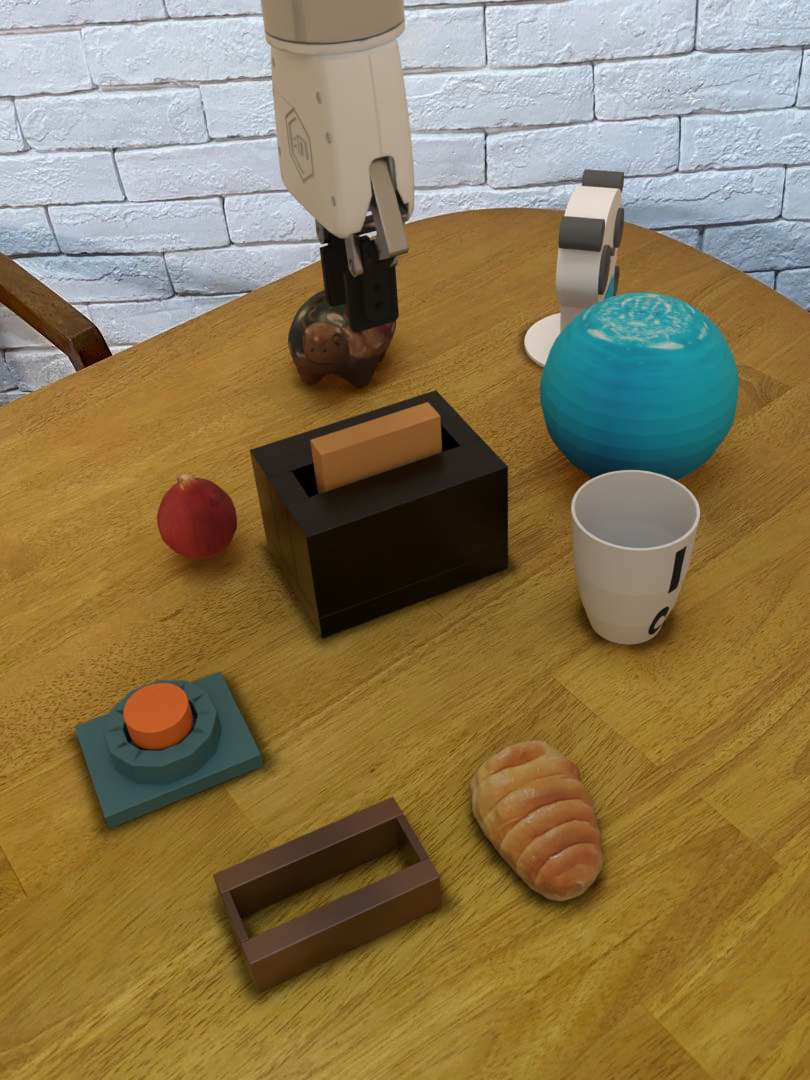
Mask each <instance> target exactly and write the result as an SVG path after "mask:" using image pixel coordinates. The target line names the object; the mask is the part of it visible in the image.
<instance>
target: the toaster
mask: <svg viewBox="0 0 810 1080" xmlns="http://www.w3.org/2000/svg"><path fill="white" fill-rule="evenodd" d="M426 402H428V403H429V404H430V405H431V406H432V407H433V408H434V409H435V411H436V412H437V413H438V414H439V415H440V419H441V440H442V453H439V454H436V455H433V456H430V457H427V458H424V459H421V460H418V461H415V462H412V463H409V464H406V465H403V466H400V467H397V468H394V469H391V470H388V471H385V472H383V473H380V474H377V475H374V476H371V477H368V478H365V479H362V480H359V481H356V482H353V483H350V484H347V485H344V486H341V487H338V488H335V489H332V490H329V491H327V492H324V493H321V494H318V491H317V484H316V477H315V470H314V463H313V456H312V449H311V442H310V440H312V439H315V438H318V437H321V436H324V435H327V434H330V433H334V432H337V431H340V430H343V429H346V428H349V427H352V426H355V425H358V424H361V423H365V422H368V421H371V420H374V419H377V418H380V417H383V416H386V415H389V414H392V413H395V412H399V411H402V410H405V409H408V408H411V407H414V406H417V405H420V404H423V403H426ZM249 454H250V459H251V465H252V471H253V476H254V481H255V487H256V493H257V497H258V502H259V507H260V513H261V518H262V524H263V530H264V534H265V535H264V536H265V540H266V546H267V549H268V551H269V553H270V555H271V556H272V558H273V560H274V562H275V563H276V564H277V566H278V568H279V570H280V571H281V573H282V574H283V576H284V578H285V580H286V581H287V583H288V585H289V586H290V588H291V589H292V591H293V593H294V594H295V597H296V598H297V599H298V602H299V603H300V604H301V606H302V608H303V609H304V611H305V613H306V614H307V616H308V618H309V620H310V621H311V623H312V624H313V626H314V628H315V630H316V631H317V633H318V635H319V637H320V638H321V639H322V640H323V639H325V638H328V637H332V636H334V635H336V634H340V633H341V632H344V631H346V630H349V629H352V628H354V627H357V626H360V625H363V624H366V623H368V622H371V621H372V620H375V619H376V620H377V619H378V618H381V617H383V616H386V615H389V614H392V613H394V612H397V611H399V610H402V609H405V608H407V607H410V606H412V605H415V604H418V603H420V602H423V601H426V600H429V599H431V598H433V597H434V598H435V597H436V596H439V595H441V594H444V593H447V592H449V591H452V590H454V589H457V588H460V587H463V586H465V585H467V584H470V583H473V582H476V581H479V580H480V579H483V578H486V577H488V576H491V575H494V574H496V573H499V572H501V571H502V572H503V571H505V570H507V569H509V466H508V465H507V464H506V463H505V462H504V461H503V459H502V458H500V456H499V455H498V454H497V453H496V452H495V451H494V450H493V449H492V448H491V447H490V446H489V444H487V442H486V441H485V440H484V439H483V438H482V437H481V436H480V435H479V434H478V433H477V432H476V431H475V430H474V429H473V427H471V425H469V423H468V422H467V421H466V420H465V419H464V418H463V417H462V416H461V415H460V414H459V412H458V411H456V409H455V408H454V407H453V406H452V405H451V404H450V403H449V402H448V401H447V400H446V399H445V398H444V397H443V395H441V393H440V392H438V390H436V389H435V390H432V391H429V392H426V393H422V394H419V395H416V396H414V397H411V398H407V399H403V400H400V401H397V402H394V403H392V404H391V403H390V404H388V405H386V406H382V407H379V408H375V409H372V410H369V411H367V412H363V413H359V414H357V415H354V416H351V417H348V418H344V419H342V420H339V421H336V422H333V423H329V424H326V425H323V426H320V427H317V428H314V429H310V430H308V431H305V432H304V431H303V432H301V433H298V434H294V435H292V436H288V437H285V438H282V439H279V440H276V441H273V442H269V443H267V444H264V445H261V446H257V447H254V448H250V449H249Z"/></svg>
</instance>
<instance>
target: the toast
mask: <svg viewBox="0 0 810 1080" xmlns="http://www.w3.org/2000/svg"><path fill="white" fill-rule="evenodd" d="M310 442H311V449H312V456H313V463H314V470H315V477H316V484H317V491H318V494H321V493H324V492H327V491H329V490H332V489H335V488H338V487H341V486H344V485H347V484H350V483H353V482H356V481H359V480H362V479H365V478H368V477H371V476H374V475H377V474H380V473H383V472H385V471H388V470H391V469H394V468H397V467H400V466H403V465H406V464H409V463H412V462H415V461H418V460H421V459H424V458H427V457H430V456H433V455H436V454H439V453H442V440H441V419H440V415H439V414H438V413H437V412H436V411H435V409H434V408H433V407H432V406H431V405H430V404H429V403H428V402H426V403H423V404H420V405H417V406H414V407H411V408H408V409H405V410H402V411H399V412H395V413H392V414H389V415H386V416H383V417H380V418H377V419H374V420H371V421H368V422H365V423H361V424H358V425H355V426H352V427H349V428H346V429H343V430H340V431H337V432H334V433H330V434H327V435H324V436H321V437H318V438H315V439H312V440H310Z"/></svg>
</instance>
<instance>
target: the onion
mask: <svg viewBox="0 0 810 1080" xmlns="http://www.w3.org/2000/svg"><path fill="white" fill-rule="evenodd" d="M176 481H177V482H176V483H175V484H173V485H172V486H171V487H170V488H169V489H168V490H167V491H166V492H165V494H164V495H162V497H161V501H160V504H159V507H158V509H157V514H156V523H157V524H156V525H157V528H158V532H159V535H160V537H161V540H162V542H163V543H164V544H165V545H167V547H168V548H169V549H171V551H173V553H176V554H177V555H180V556H182V557H184V558H188V559H195V560H198V561H207V560H211V559H212V558H215V557H218V556H219V555H220V554H221V553H222V552H224V551H225V550H226V549H227V548H228V547H229V546H230V544H231V543H232V540H233V539H234V536H235V534H236V531H237V529H238V516H237V510H236V506H235V505H234V502H233V499H232V498H231V496H230V495H229V494H228V493H227V492H226V491H225V490H224V489H223V488H221V487H220V486H219V485H218V484H217V483H216V482H213V481H211V480H209V479H205V478H201V477H194V476H191V475H190V474H188V473H187V474H186V473H184V474H181V475H178V476H176Z"/></svg>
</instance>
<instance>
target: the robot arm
mask: <svg viewBox="0 0 810 1080" xmlns="http://www.w3.org/2000/svg"><path fill="white" fill-rule="evenodd" d="M260 7H261V13H262V21H263V27H264V29H263V30H264V38H265V41H266V43H267V44H268V45H270V63H271V64H270V65H271V67H270V68H271V69H270V70H271V85H272V97H273V98H272V99H273V108H274V109H273V111H274V119H275V120H274V122H275V123H274V124H275V132H276V133H275V134H276V143H277V153H278V162H279V173H280V177H281V180H282V183H283V186H284V187H285V188H286V190H287V192H288V193H289V195H291V196H292V197H293V198H294V199H295V200H296V201H297V203H299V204H300V205H301V206H302V208H304V209H305V210H306V211H307V213H309V214H310V215H311V217H313V218H314V223H315V234H316V238H317V239H318V243H319V244H320V245H324V246H320V247H319V254H320V256H319V257H320V263H321V271H322V272H321V273H322V278H323V290H325V298H326V301H327V303H328V304H329V305H330V306H332V307H335V306H339V305H342V304H347V314H348V323H349V327H350V328H351V329H352V330H353V331H354V332H361V331H364V330H368V329H371V328H374V327H378V326H381V325H384V324H388V323H391V322H394V321H396V322H397V321H398V319H399V316H400V312H399V297H398V286H397V285H398V283H397V271H396V267H397V266H398V263H399V261H398V260H399V259H398V258H399V257H398V256H402V255H405V254H408V253H409V250H410V249H409V248H410V247H409V241H408V238H407V234H406V230H405V226H404V223H407V222H409V220H410V219H411V217H412V216H413V214H414V211H415V210H414V209H415V170H414V168H415V167H414V157H413V146H412V134H411V126H410V125H411V124H410V116H409V109H408V108H409V107H408V100H407V99H408V98H407V92H406V85H405V79H404V72H403V65H402V60H401V58H402V57H401V54H400V47H399V42H398V38H399V37H400V36H402V35H403V34H404V32H405V30H406V19H405V18H406V17H405V16H406V15H405V0H260ZM369 212H371V214H369V215H367V214H368V213H369ZM373 232H376V236H375V238H373V239H371V238H370V236H368V234H370V233H373ZM326 244H327V245H326Z"/></svg>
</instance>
